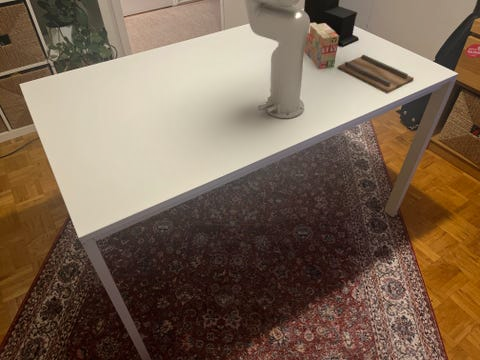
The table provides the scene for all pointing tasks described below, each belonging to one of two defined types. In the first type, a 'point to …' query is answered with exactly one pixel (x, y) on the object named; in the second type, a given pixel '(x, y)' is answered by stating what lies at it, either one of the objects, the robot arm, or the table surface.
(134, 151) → the table surface
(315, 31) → the stack of blocks
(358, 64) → the slot board
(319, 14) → the bookend
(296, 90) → the robot arm
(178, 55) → the table surface
